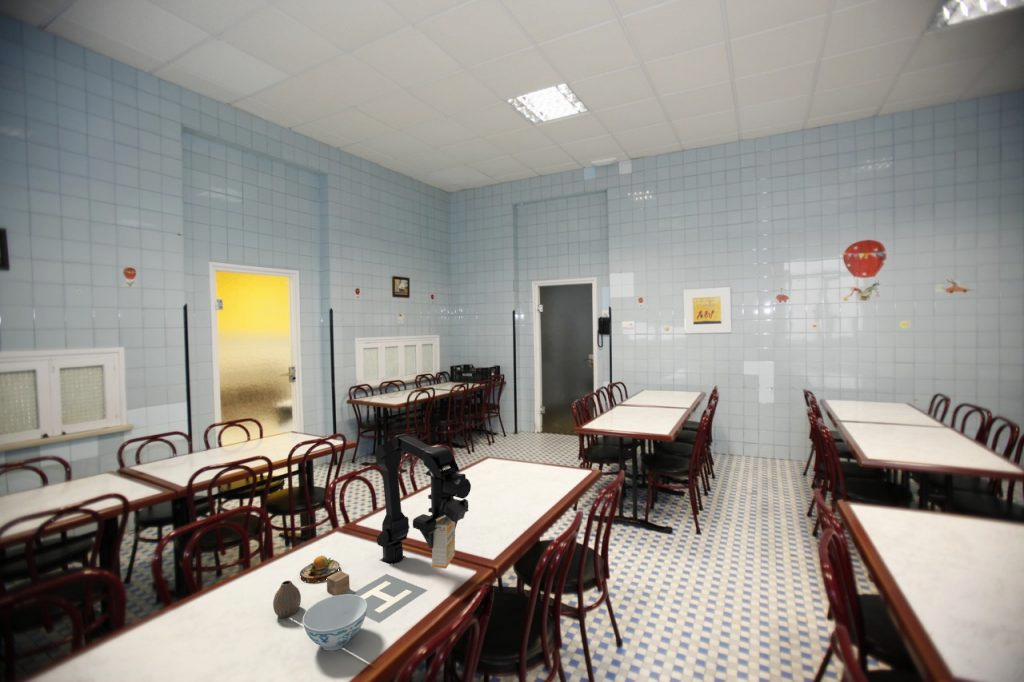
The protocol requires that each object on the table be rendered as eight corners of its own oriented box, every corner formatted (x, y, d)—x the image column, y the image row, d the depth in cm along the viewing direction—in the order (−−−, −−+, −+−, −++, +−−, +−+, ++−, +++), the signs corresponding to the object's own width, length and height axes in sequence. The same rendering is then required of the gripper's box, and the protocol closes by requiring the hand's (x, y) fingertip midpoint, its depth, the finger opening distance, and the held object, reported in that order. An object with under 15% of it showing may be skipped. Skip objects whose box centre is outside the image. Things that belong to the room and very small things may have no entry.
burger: (340, 562, 158) (339, 540, 157) (339, 579, 146) (338, 556, 146) (302, 568, 154) (301, 546, 154) (297, 587, 143) (296, 563, 143)
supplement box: (446, 569, 137) (447, 526, 136) (431, 567, 138) (431, 524, 137) (455, 555, 145) (456, 514, 144) (441, 553, 146) (441, 512, 145)
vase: (306, 608, 131) (305, 578, 130) (287, 623, 124) (286, 591, 124) (287, 604, 133) (286, 574, 133) (267, 619, 126) (266, 587, 126)
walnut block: (327, 594, 138) (326, 577, 138) (340, 587, 142) (339, 570, 141) (336, 598, 135) (336, 581, 135) (349, 591, 139) (349, 574, 139)
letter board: (336, 604, 132) (336, 602, 132) (386, 575, 147) (386, 573, 147) (379, 625, 122) (379, 622, 122) (427, 592, 137) (427, 590, 137)
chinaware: (306, 671, 106) (304, 638, 106) (302, 634, 119) (301, 604, 119) (373, 649, 113) (372, 617, 113) (362, 616, 126) (361, 588, 126)
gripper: (439, 506, 129) (440, 562, 129) (480, 486, 145) (481, 536, 145) (410, 499, 135) (412, 552, 135) (452, 480, 151) (453, 528, 151)
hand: (441, 541), depth 142 cm, fingers closed on supplement box, 9 cm apart
